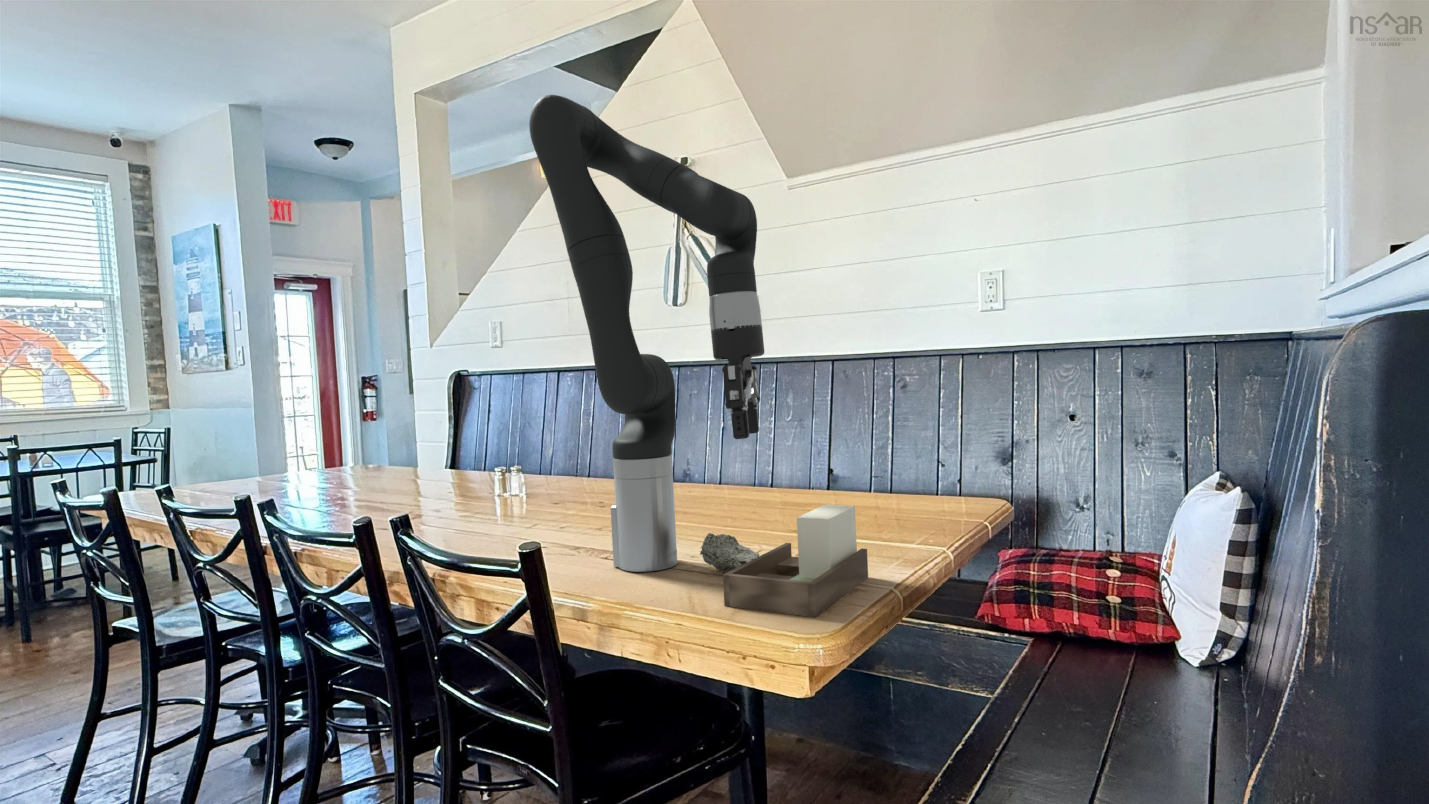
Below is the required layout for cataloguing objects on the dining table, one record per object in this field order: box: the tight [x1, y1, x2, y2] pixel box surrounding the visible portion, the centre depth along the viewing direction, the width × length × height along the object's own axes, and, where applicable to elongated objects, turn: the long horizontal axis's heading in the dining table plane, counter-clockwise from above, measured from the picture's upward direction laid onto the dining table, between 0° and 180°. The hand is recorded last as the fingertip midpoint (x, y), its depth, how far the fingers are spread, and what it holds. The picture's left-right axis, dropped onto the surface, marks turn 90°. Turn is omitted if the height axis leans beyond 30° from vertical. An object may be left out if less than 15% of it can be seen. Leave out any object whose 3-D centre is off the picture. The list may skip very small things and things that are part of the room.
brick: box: [796, 504, 858, 579], centre depth 106 cm, size 4×10×8 cm, turn 150°
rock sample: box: [699, 530, 760, 572], centre depth 116 cm, size 10×8×9 cm
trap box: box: [722, 542, 869, 618], centre depth 103 cm, size 12×19×4 cm, turn 150°
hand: (746, 435), depth 113 cm, fingers open, 8 cm apart
